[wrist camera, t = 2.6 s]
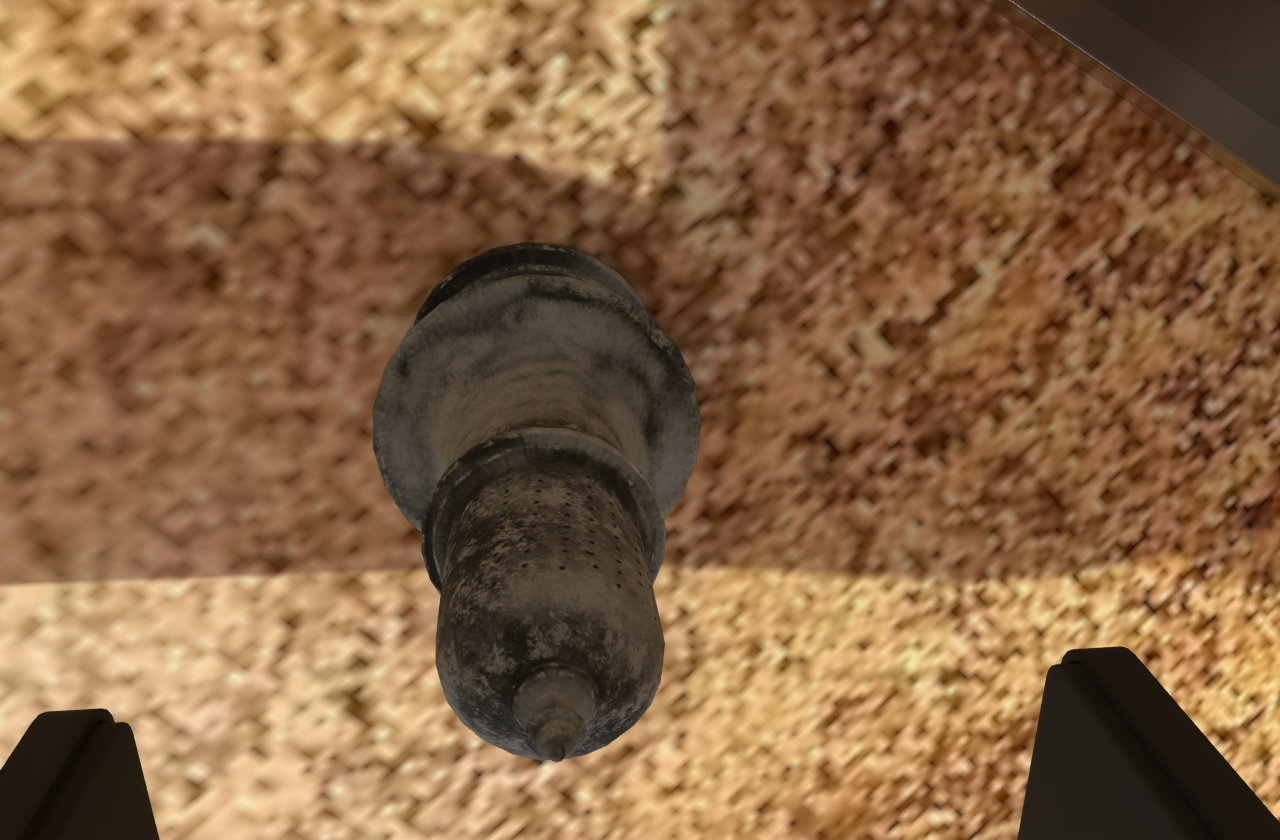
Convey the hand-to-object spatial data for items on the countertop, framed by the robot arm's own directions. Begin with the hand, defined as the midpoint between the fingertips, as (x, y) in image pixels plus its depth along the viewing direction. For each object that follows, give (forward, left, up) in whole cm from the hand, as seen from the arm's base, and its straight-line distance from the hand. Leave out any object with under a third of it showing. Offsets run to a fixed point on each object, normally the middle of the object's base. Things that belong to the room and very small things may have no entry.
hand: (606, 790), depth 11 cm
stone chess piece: (0, 0, -13) cm, 13 cm away
